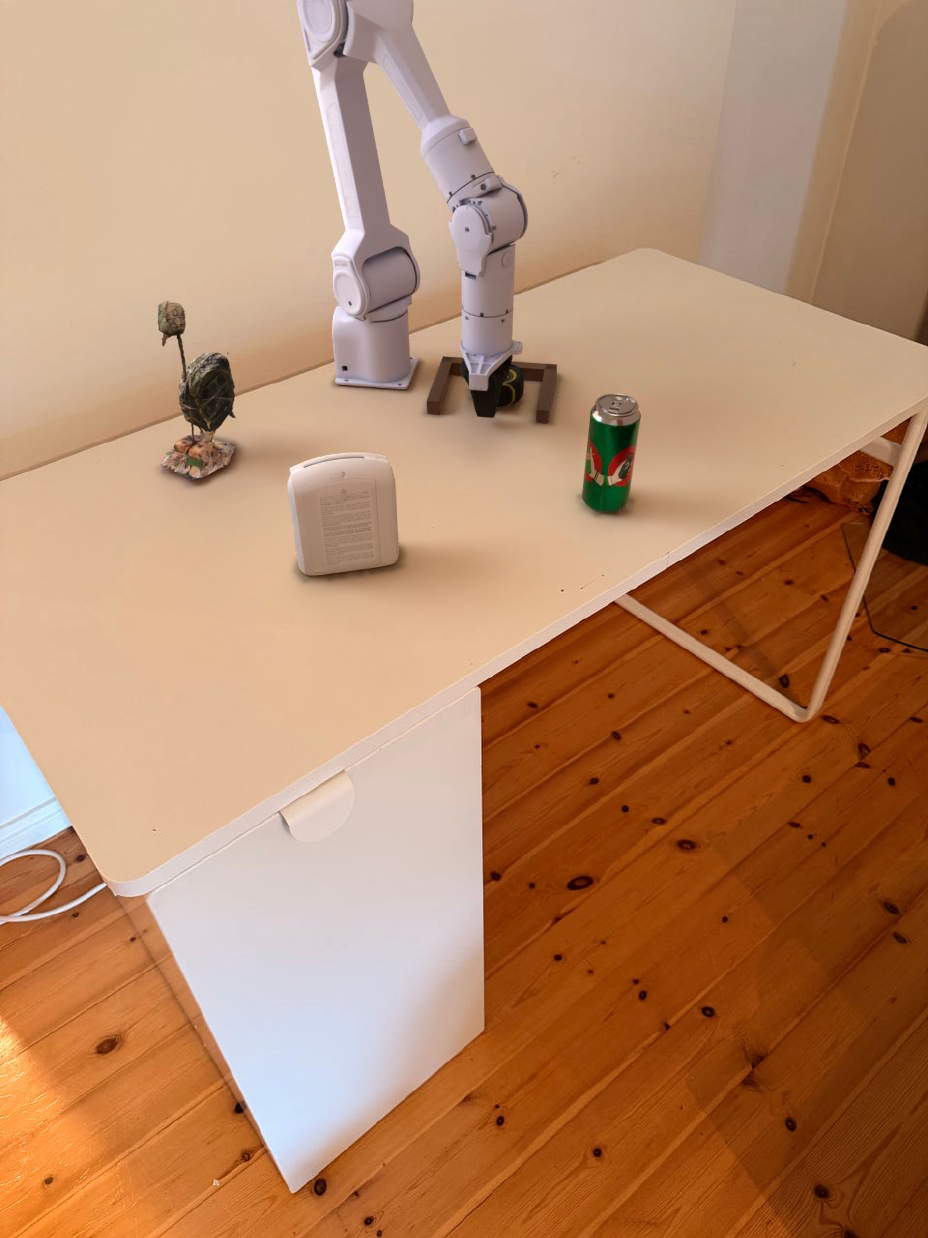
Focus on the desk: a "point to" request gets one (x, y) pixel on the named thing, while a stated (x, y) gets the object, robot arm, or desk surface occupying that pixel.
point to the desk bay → (528, 369)
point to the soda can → (610, 452)
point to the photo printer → (343, 513)
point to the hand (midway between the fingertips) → (486, 414)
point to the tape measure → (511, 388)
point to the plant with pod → (199, 402)
